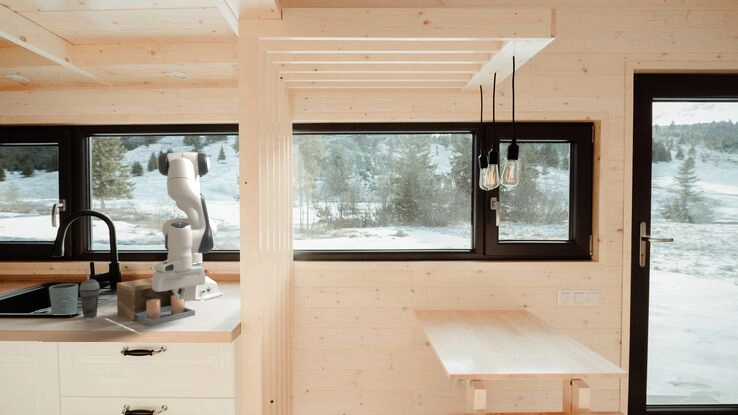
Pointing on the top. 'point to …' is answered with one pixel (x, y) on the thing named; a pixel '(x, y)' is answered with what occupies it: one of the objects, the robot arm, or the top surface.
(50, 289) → the teal cup
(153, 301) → the peach rounded capsule
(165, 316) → the tray
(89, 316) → the beverage cup
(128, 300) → the open wooden box
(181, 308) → the peach glossy rounded part
